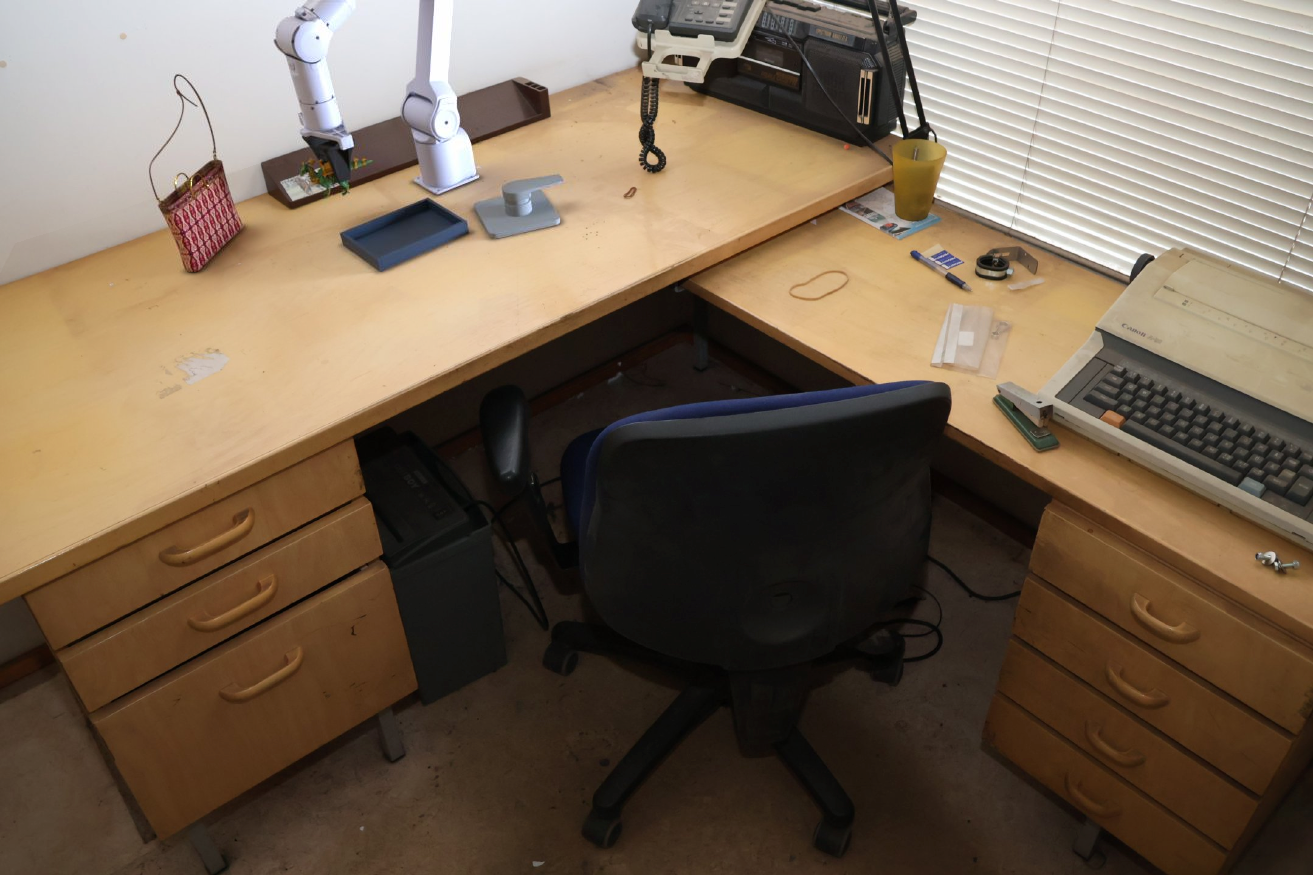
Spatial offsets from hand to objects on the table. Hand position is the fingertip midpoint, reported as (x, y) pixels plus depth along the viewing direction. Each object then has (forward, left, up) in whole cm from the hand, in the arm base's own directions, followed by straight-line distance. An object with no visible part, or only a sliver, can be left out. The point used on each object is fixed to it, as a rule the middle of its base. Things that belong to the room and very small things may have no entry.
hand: (338, 176), depth 168 cm
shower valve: (-23, +20, -9) cm, 31 cm away
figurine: (0, 0, -3) cm, 3 cm away
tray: (-4, +12, -9) cm, 15 cm away
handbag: (+20, -11, -9) cm, 25 cm away
